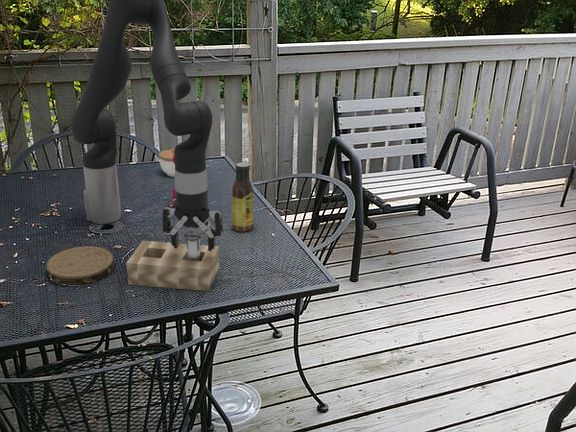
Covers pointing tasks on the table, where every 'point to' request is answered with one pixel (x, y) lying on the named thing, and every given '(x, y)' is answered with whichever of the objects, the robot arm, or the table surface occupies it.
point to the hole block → (172, 266)
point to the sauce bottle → (242, 199)
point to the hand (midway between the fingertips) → (193, 248)
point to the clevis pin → (193, 245)
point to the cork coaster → (80, 265)
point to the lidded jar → (167, 162)
